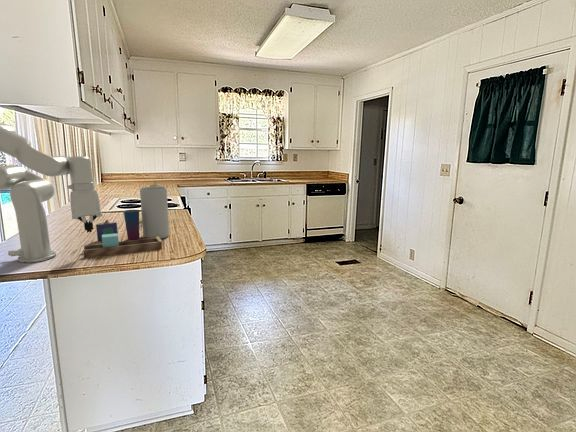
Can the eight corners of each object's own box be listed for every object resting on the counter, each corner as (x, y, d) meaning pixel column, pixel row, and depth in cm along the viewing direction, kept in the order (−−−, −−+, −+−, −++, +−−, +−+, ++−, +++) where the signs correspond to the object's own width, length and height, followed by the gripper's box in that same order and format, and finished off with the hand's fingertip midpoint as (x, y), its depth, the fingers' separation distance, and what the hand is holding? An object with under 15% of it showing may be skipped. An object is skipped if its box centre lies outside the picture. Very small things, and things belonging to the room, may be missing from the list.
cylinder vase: (167, 239, 169) (164, 189, 164) (141, 240, 166) (137, 190, 161) (170, 233, 181) (168, 186, 176) (145, 233, 178) (142, 186, 173)
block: (103, 253, 141) (101, 237, 140) (103, 250, 145) (101, 234, 144) (119, 251, 144) (117, 235, 142) (118, 248, 148) (117, 233, 147)
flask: (117, 238, 168) (115, 217, 166) (119, 239, 166) (117, 218, 164) (97, 242, 162) (94, 220, 160) (99, 243, 160) (96, 221, 158)
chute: (84, 260, 136) (82, 250, 135) (85, 253, 145) (84, 243, 144) (162, 251, 150) (161, 241, 149) (159, 245, 159) (158, 236, 158)
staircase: (159, 216, 223) (157, 178, 218) (166, 220, 214) (163, 180, 209) (147, 218, 218) (145, 179, 213) (153, 221, 209) (151, 180, 204)
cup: (125, 243, 161) (122, 212, 158) (127, 239, 167) (124, 209, 164) (140, 242, 163) (138, 211, 160) (142, 238, 169) (140, 209, 166)
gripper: (60, 189, 129) (67, 236, 132) (104, 187, 136) (109, 231, 139) (62, 187, 135) (68, 232, 139) (104, 185, 142) (109, 227, 146)
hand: (89, 231), depth 139 cm, fingers closed
